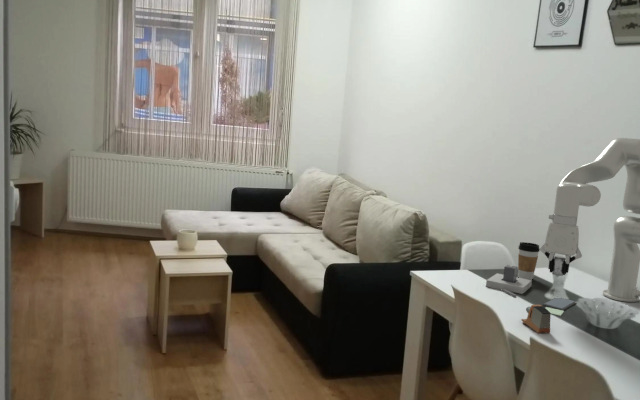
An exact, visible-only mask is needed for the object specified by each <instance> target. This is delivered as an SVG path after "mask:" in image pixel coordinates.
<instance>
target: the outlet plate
mask: <svg viewBox="0 0 640 400" xmlns="http://www.w3.org/2000/svg"><path fill="white" fill-rule="evenodd" d="M503 276H504V273H503V274H502V273H497V272H496V273H495V274H494V275H492V276H490V277H489V278H487V279H486V283H485V287H488V288H492V289H496V290H501V291H502V289H505V290H507V291H509V292H511V293H514V294H521V295H524V294H525V293H526V292H527V291H528V290H529V289H530V288H531V287H532V283H533V280H528V279H523V278H518V276H517V277H516V282H515V283H512V282H507V281H503Z"/></svg>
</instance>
